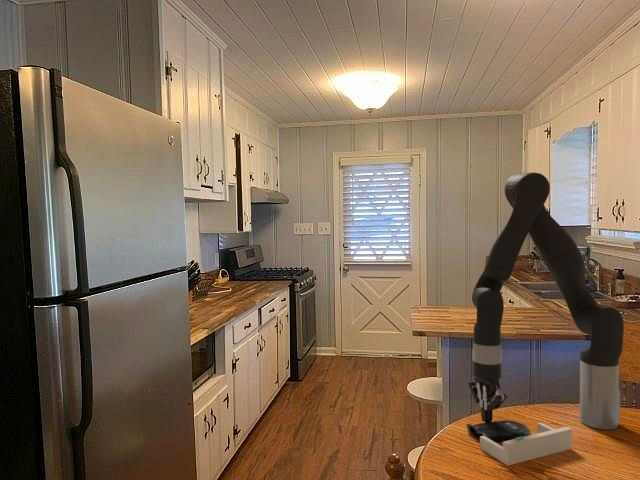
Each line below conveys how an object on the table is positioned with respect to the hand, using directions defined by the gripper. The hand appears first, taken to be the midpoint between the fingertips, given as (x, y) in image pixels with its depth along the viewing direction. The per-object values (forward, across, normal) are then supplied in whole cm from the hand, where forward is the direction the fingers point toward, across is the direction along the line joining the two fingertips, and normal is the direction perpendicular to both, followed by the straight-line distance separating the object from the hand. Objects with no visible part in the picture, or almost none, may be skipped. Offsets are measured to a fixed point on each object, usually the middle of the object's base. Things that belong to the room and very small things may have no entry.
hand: (486, 421), depth 131 cm
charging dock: (+1, -14, 0) cm, 14 cm away
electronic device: (+2, -6, 0) cm, 6 cm away
